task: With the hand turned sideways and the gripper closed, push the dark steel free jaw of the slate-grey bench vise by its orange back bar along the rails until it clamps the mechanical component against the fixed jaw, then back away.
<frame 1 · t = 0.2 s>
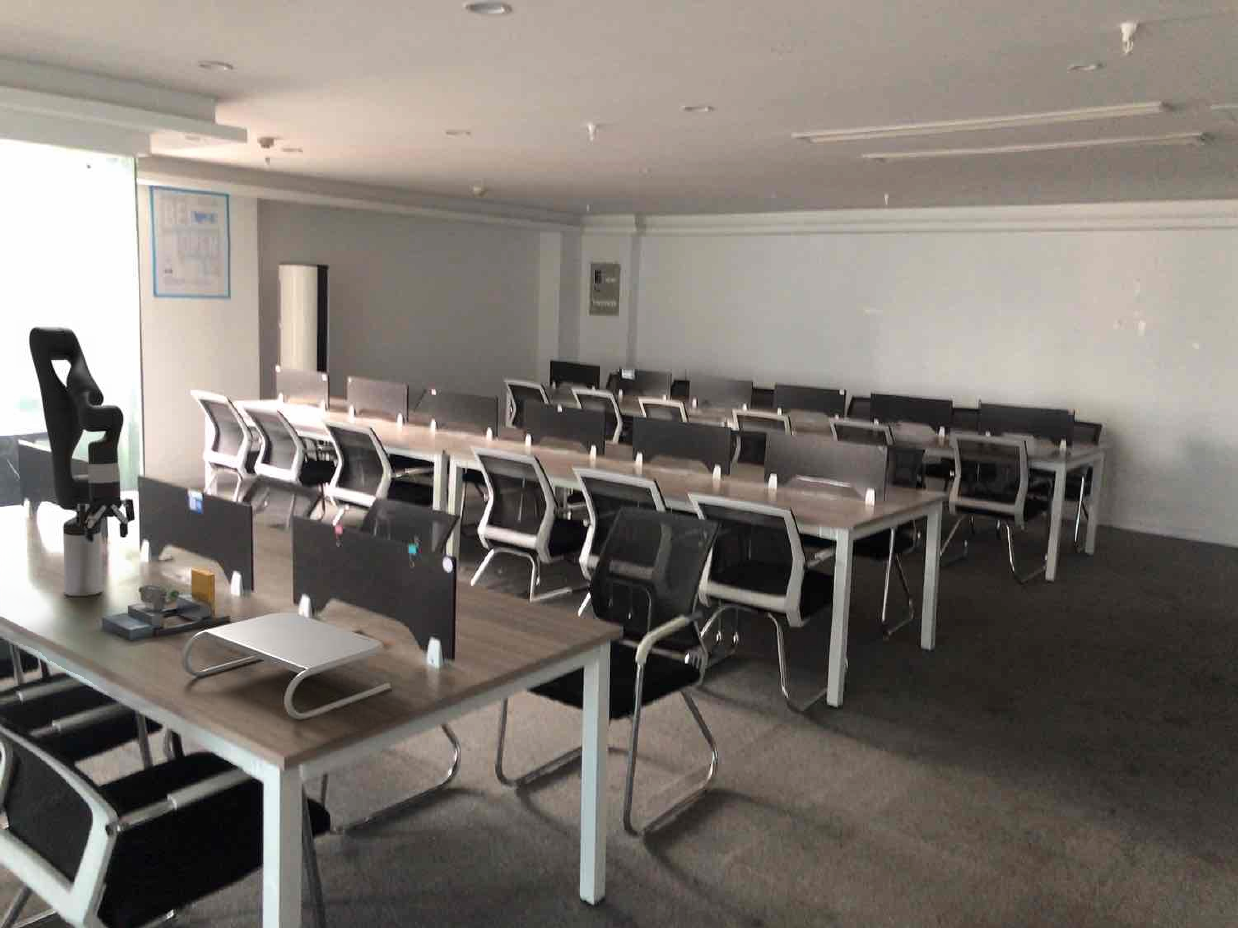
hand: (106, 539, 267), 18 cm above the table, tool pointing down, fingers open, 8 cm apart
free jaw: (197, 594, 261), point 6 cm above the table, slide at 0.0 cm
vise body: (159, 625, 254), on the table
mechanical component: (159, 626, 254), resting in vise body
monitor stand: (286, 687, 220), on the table
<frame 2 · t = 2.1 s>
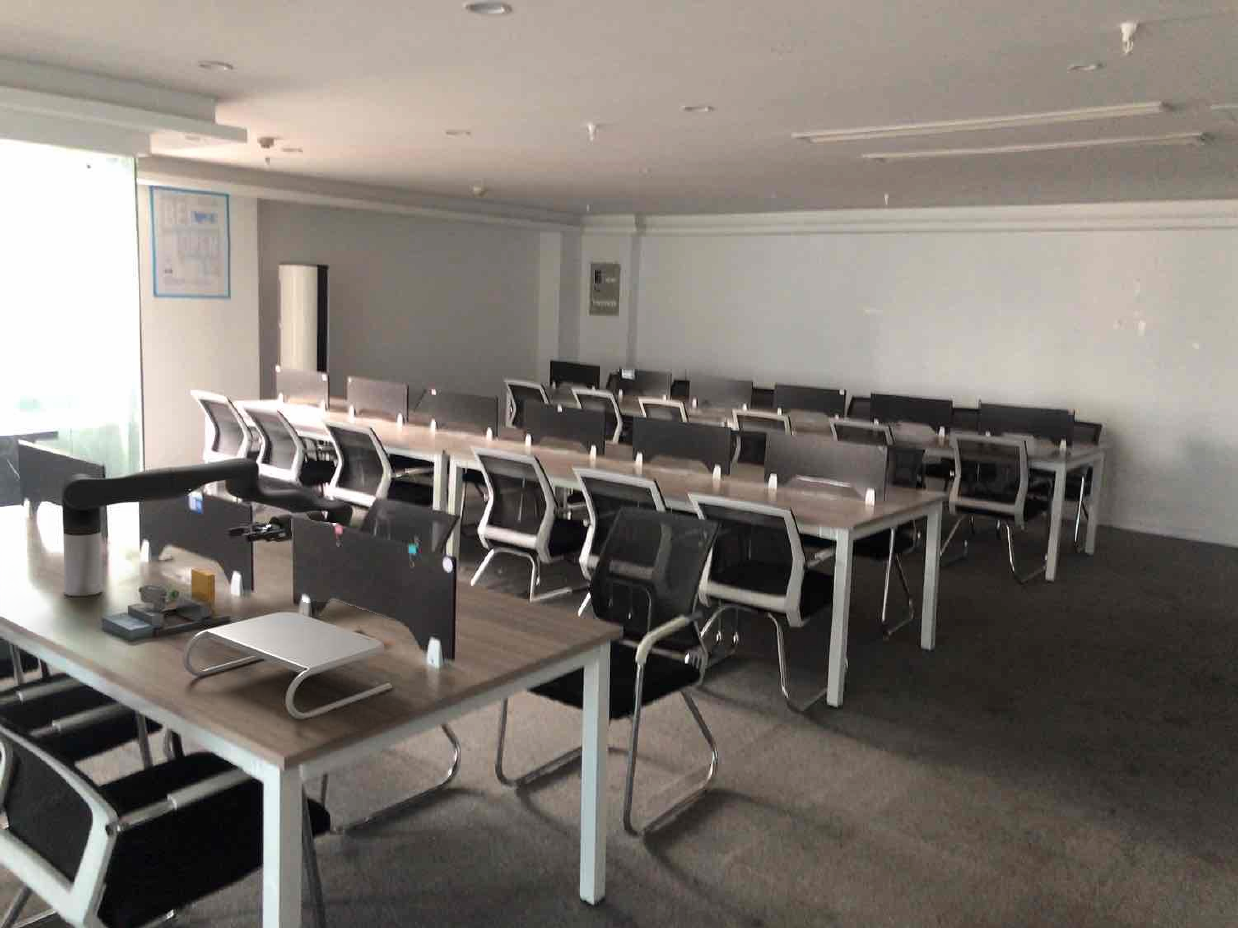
hand: (237, 535, 268), 21 cm above the table, tool horizontal, fingers open, 8 cm apart
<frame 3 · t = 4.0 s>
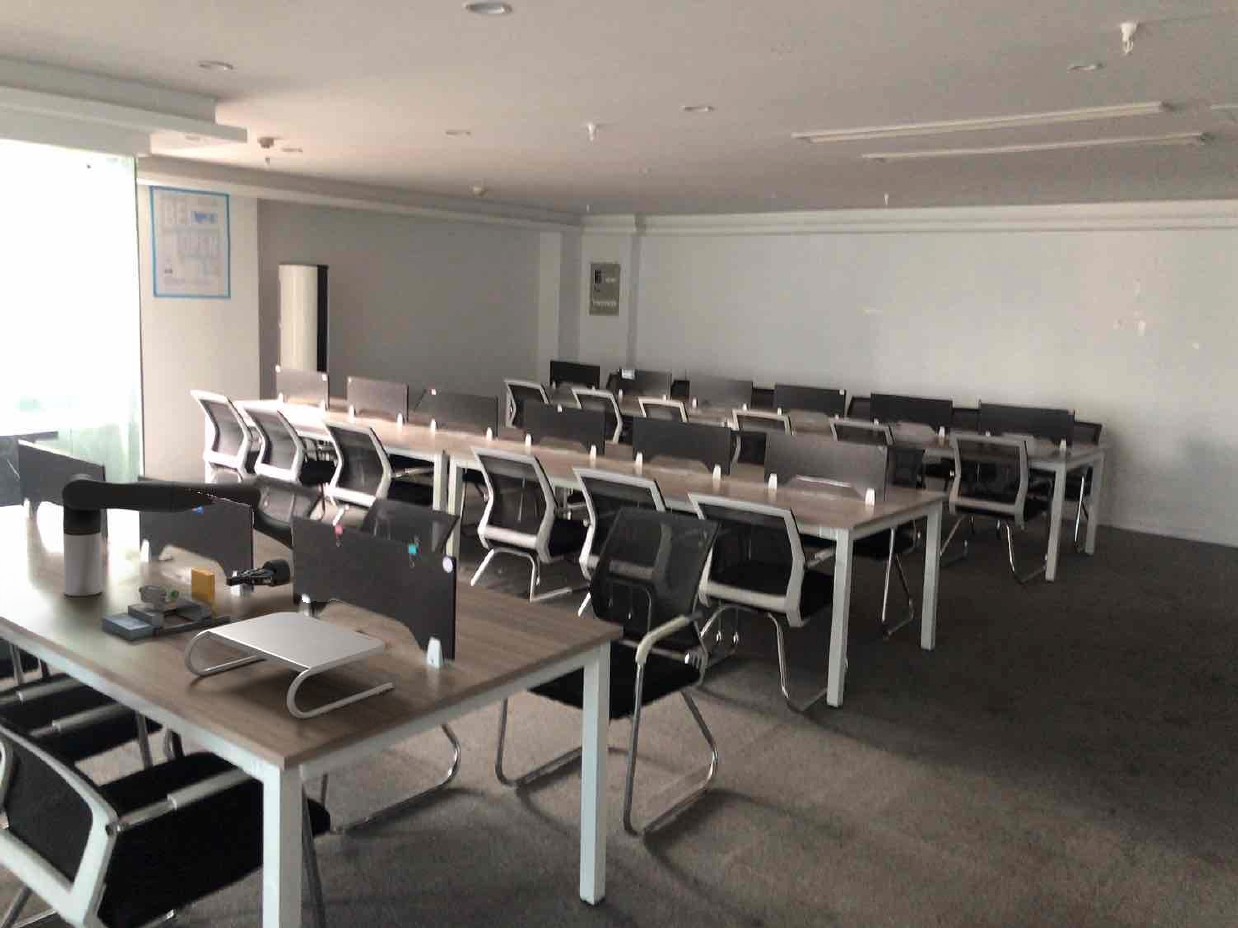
hand: (227, 582, 268), 8 cm above the table, tool horizontal, fingers closed
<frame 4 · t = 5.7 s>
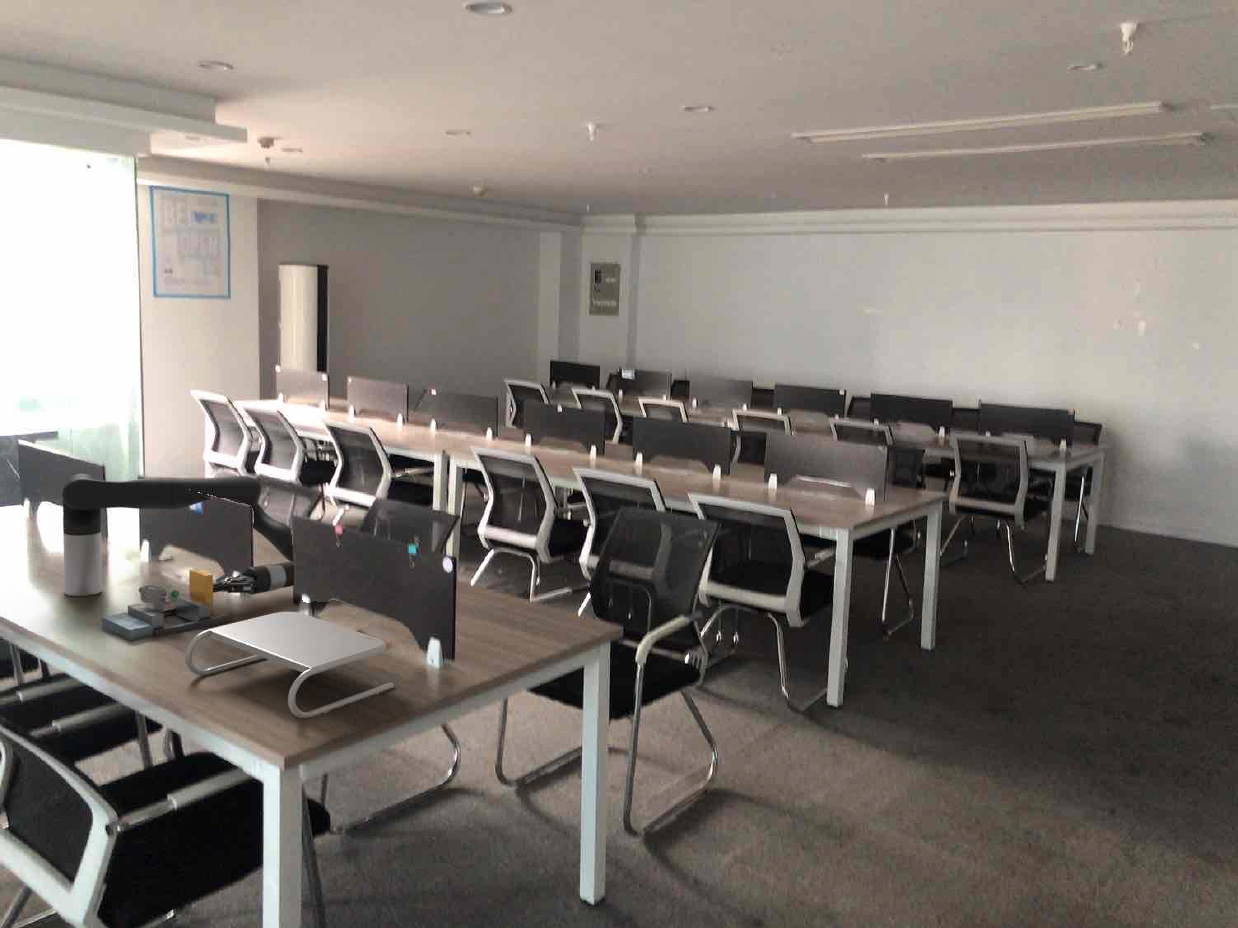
hand: (206, 588, 262), 8 cm above the table, tool horizontal, fingers closed
free jaw: (195, 595, 261), point 6 cm above the table, slide at 0.5 cm, touching gripper
everything else where it was.
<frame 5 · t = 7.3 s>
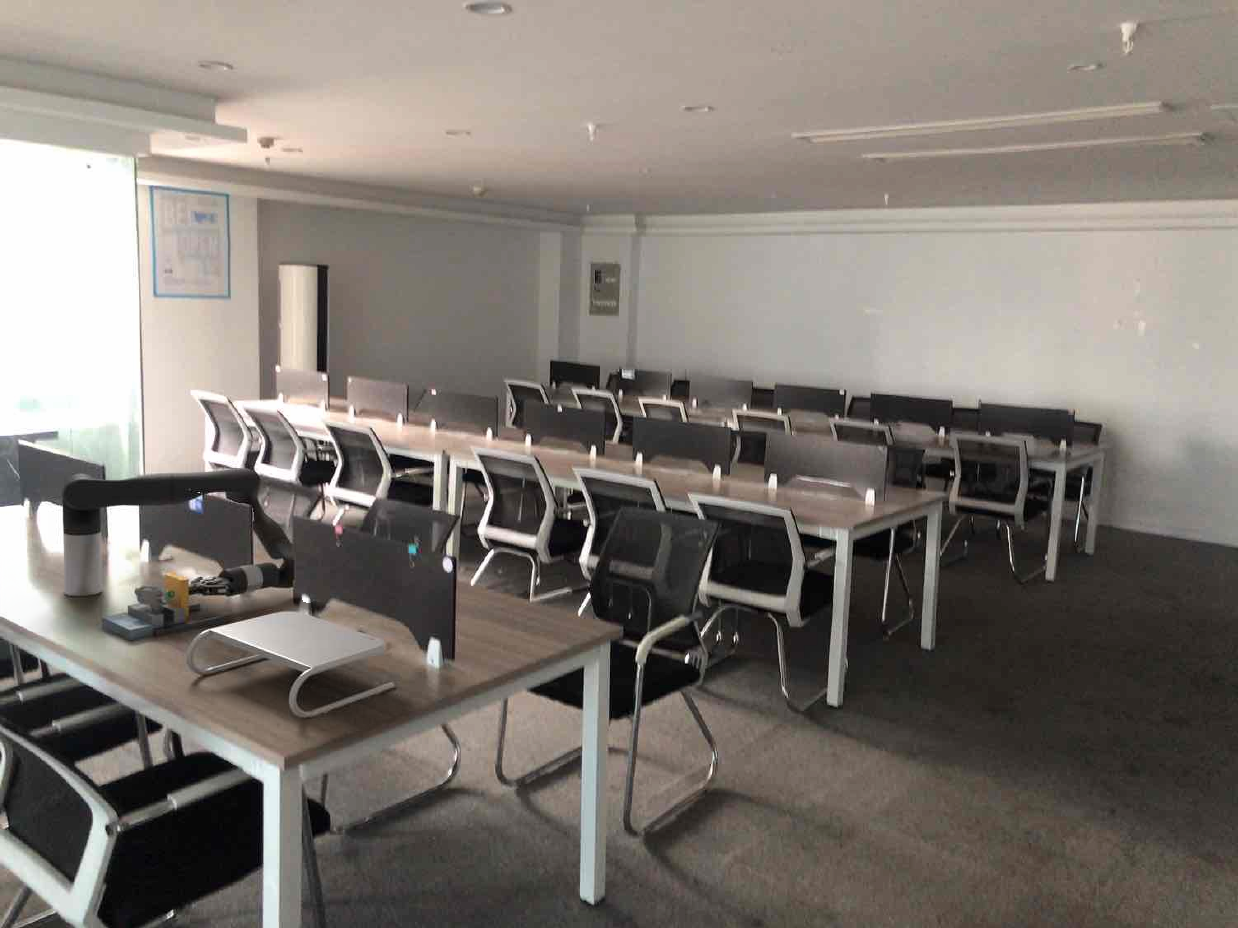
hand: (180, 591, 257), 8 cm above the table, tool horizontal, fingers closed
free jaw: (171, 600, 255), point 6 cm above the table, slide at 7.3 cm, touching gripper, mechanical component
mechanical component: (158, 626, 254), resting in vise body, touching free jaw
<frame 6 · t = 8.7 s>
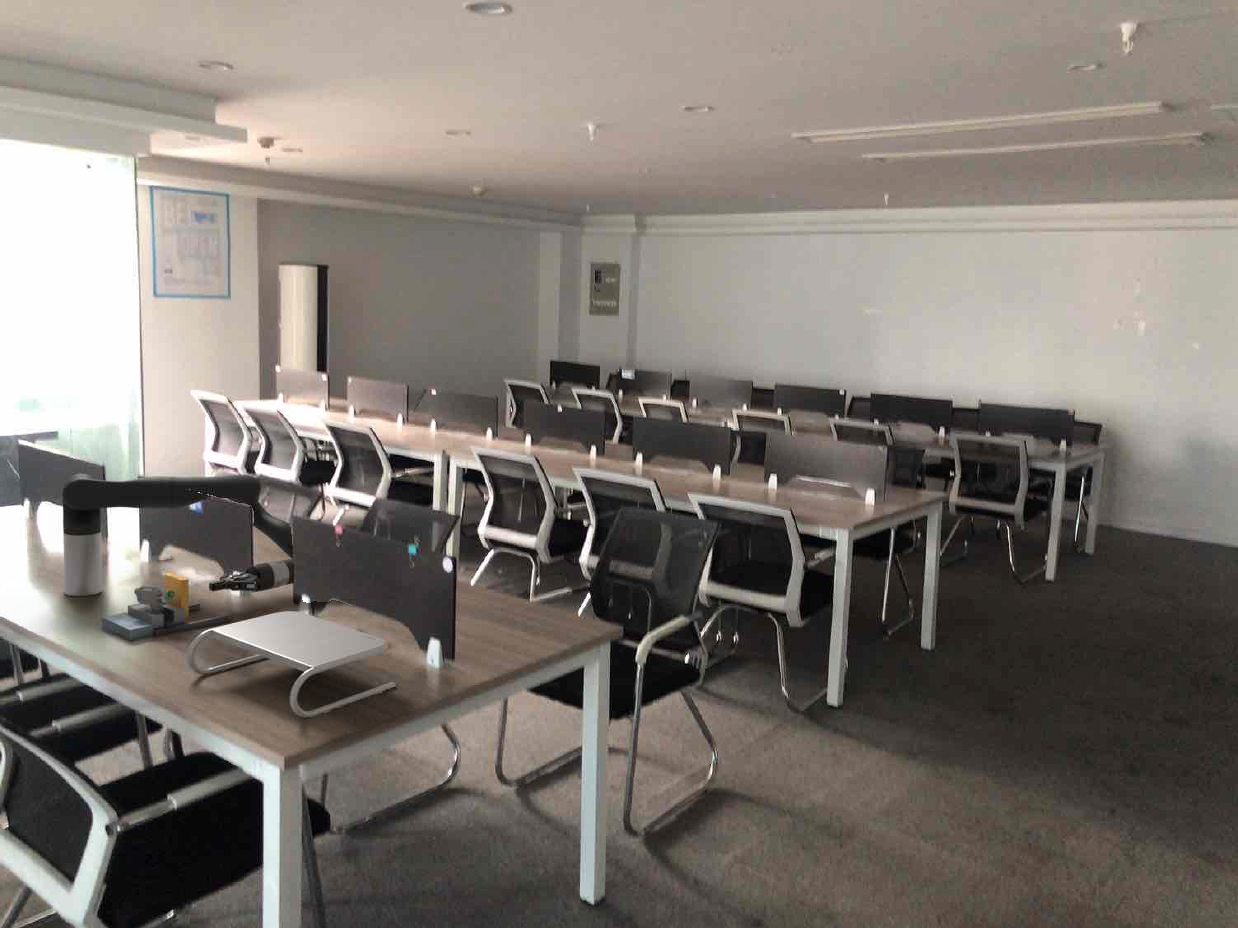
hand: (210, 587, 263), 8 cm above the table, tool horizontal, fingers closed
free jaw: (171, 600, 255), point 6 cm above the table, slide at 7.3 cm, touching mechanical component
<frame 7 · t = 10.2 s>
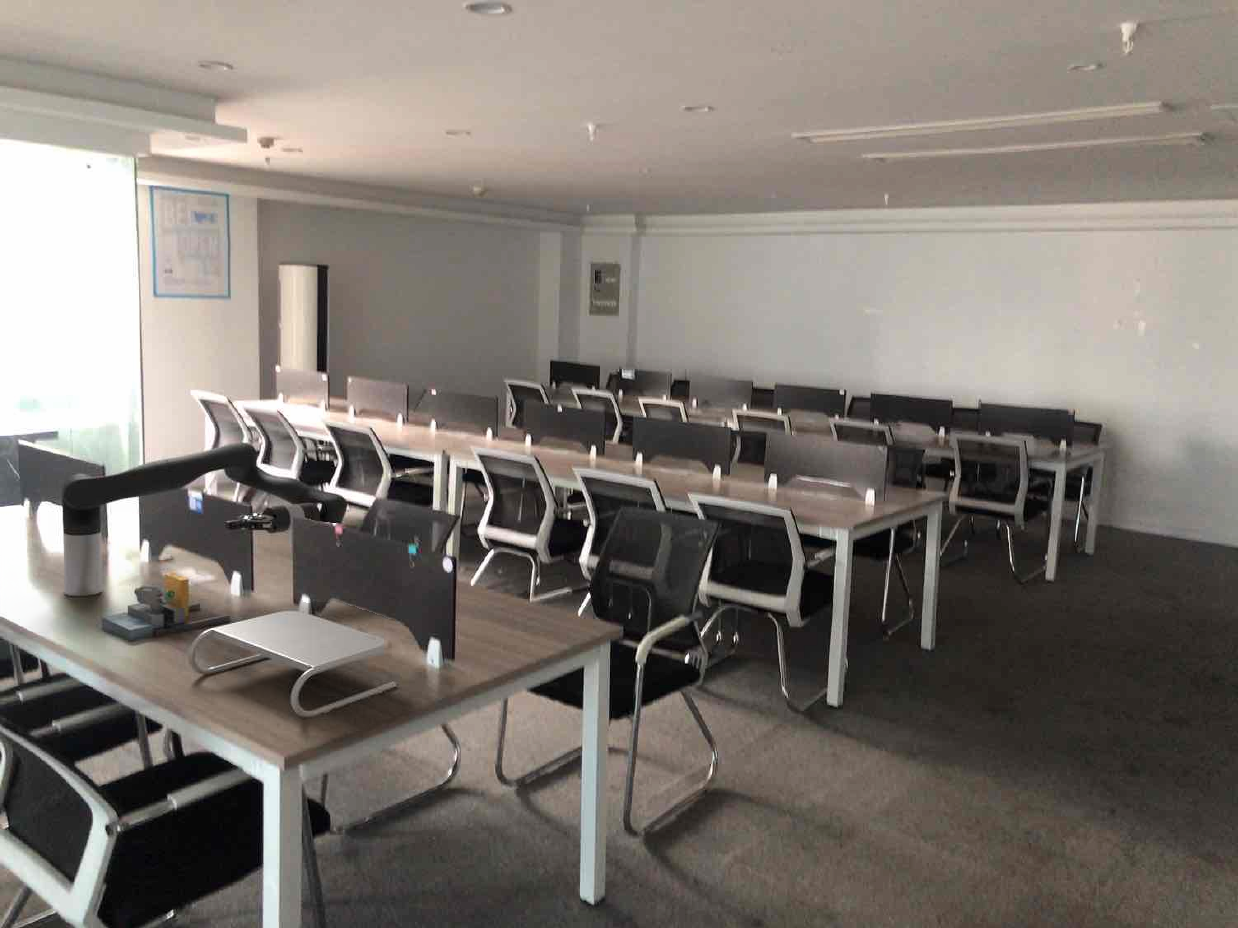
hand: (227, 525, 265), 24 cm above the table, tool horizontal, fingers closed
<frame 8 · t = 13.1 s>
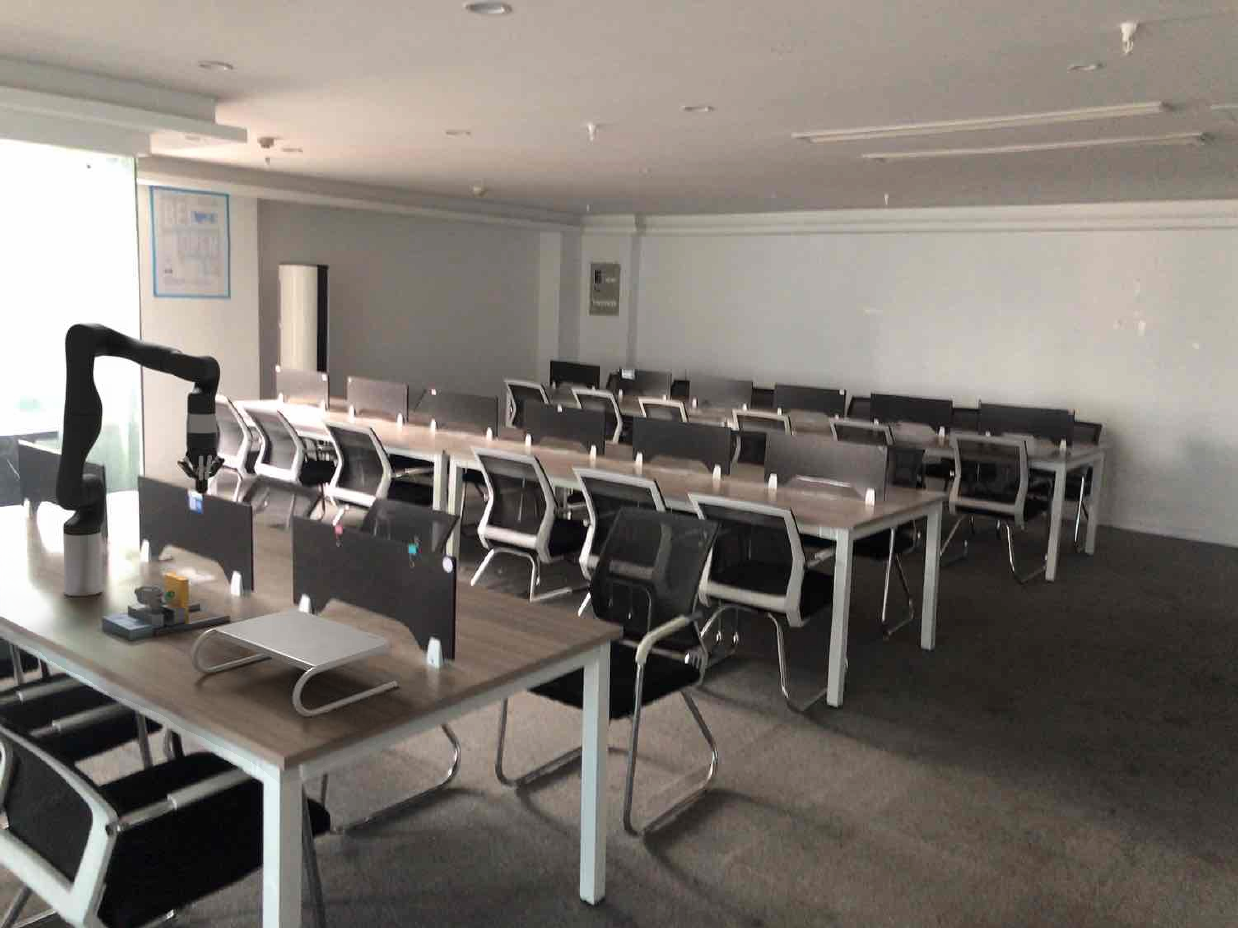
hand: (201, 493, 270), 31 cm above the table, tool pointing down, fingers closed
at the end: free jaw slide at 7.3 cm; mechanical component tilted 7°; mechanical component 0.0 cm from the vise body (horizontally) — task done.
